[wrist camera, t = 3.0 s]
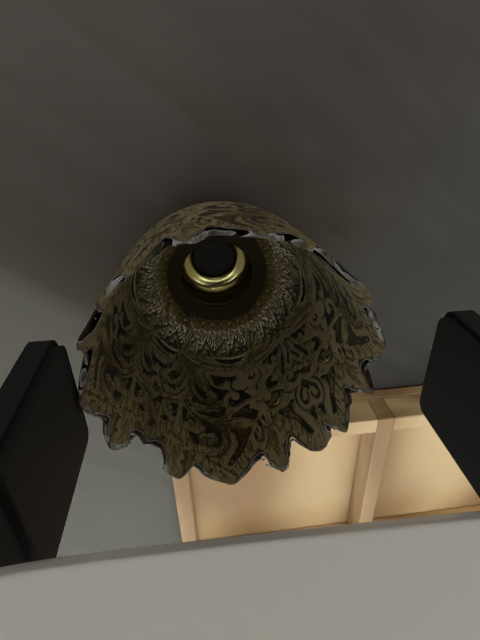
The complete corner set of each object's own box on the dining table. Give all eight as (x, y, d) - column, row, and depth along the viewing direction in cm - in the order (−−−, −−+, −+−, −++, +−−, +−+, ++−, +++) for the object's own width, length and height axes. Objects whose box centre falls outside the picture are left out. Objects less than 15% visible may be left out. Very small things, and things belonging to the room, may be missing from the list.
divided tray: (198, 621, 31) (199, 654, 30) (167, 410, 21) (166, 442, 19) (462, 582, 33) (479, 611, 31) (555, 371, 23) (587, 397, 21)
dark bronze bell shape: (341, 251, 18) (442, 367, 11) (218, 363, 20) (239, 519, 13) (207, 111, 15) (232, 153, 8) (78, 263, 17) (8, 400, 10)
